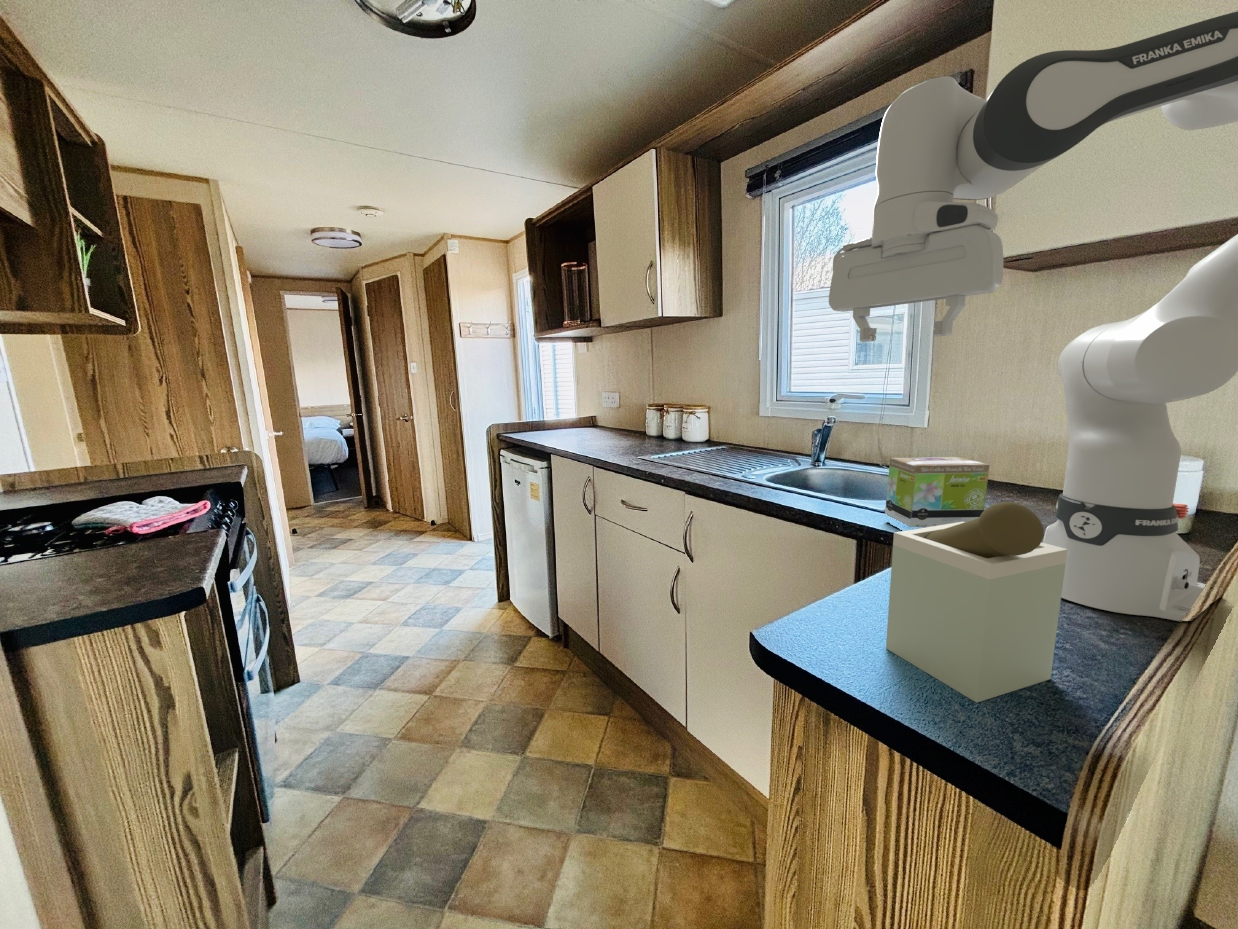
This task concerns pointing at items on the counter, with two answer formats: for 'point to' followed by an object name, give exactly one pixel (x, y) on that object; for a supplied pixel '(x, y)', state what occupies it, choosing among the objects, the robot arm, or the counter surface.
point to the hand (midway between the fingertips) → (902, 338)
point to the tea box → (935, 490)
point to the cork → (995, 532)
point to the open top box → (974, 613)
